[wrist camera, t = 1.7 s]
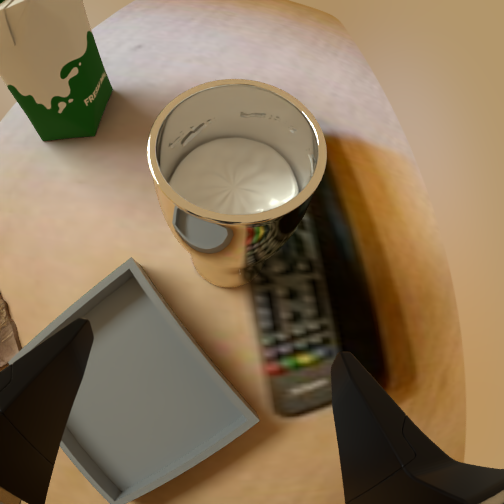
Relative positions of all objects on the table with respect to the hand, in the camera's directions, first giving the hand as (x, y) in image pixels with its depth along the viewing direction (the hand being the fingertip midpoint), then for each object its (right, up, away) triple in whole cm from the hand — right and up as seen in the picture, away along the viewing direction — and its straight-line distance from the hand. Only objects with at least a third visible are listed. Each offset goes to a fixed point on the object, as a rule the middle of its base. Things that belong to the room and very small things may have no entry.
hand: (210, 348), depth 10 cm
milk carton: (-18, +19, +17) cm, 31 cm away
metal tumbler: (-1, +3, +15) cm, 15 cm away
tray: (-9, -8, +11) cm, 16 cm away
